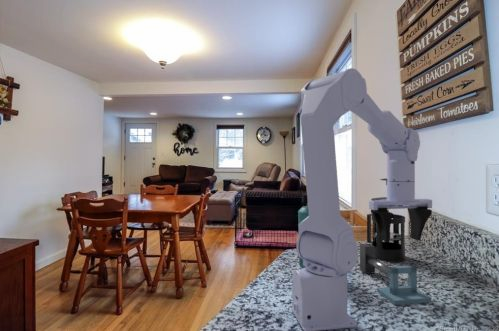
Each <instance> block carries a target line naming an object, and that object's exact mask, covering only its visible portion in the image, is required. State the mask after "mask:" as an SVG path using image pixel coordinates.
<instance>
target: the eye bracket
mask: <svg viewBox="0 0 499 331" xmlns="http://www.w3.org/2000/svg"><path fill="white" fill-rule="evenodd" d="M389 267H390V277H389V286H387V287H377V288H376V290H377V291H376V292H377V293H378V294H379V295H381V296H382V297H383V298H385V299H386V300H387V301H389V302H390V303H391V304H392V305H394V306H398V305H409V304H421V303H431V302H432V297H431V296H430V295H428V294H426V293H424V292H422V291H421V290H419V289H418V288H417V287H418V284H417V283H418V275H417V274H418V269H417V266H416V265H414V264H412V265H411V264H410V265H397V266H396V265H395V266H389ZM398 274H399V275H401V274H403V275H404V274H407V281H408V283H407V285H399V277H398Z"/></svg>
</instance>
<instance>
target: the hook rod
mask: <svg viewBox="0 0 499 331" xmlns="http://www.w3.org/2000/svg"><path fill="white" fill-rule="evenodd" d="M390 267H391V266H389V265H387V264H386V263H383V261H381V260H378V259H375V246H373V245H372V244H371V243H360V244H359V270H360V271H361V272H362V273H364V274H374V273H376V270H377V271H379V272H381V273H382V274H384V275H385V276H387V277H388V278H390ZM399 277H400V274H398V278H399Z"/></svg>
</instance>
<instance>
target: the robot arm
mask: <svg viewBox="0 0 499 331" xmlns="http://www.w3.org/2000/svg"><path fill="white" fill-rule="evenodd" d="M367 90H368V88H367V82H366V79H365V78H364V77H363V76H362V74H361V73H360V71H359V70H357V69H355V68H353V67H350V68H347V69H345V70H343V71H340V72H336V73H334V74H330V75H327V76H323V77H320V78H315V79H311V80H309V81H308V82H306V84H305V85H304V86H303V87H302V89H301V90H300V98H301V114H300V126H301V139H302V141H301V142H302V151H303V163H304V174H305V185H306V187H305V188H306V194H307V199H308V203H307V206H308V211H309V216H308V217H307V218H305V219H304V220H303V221H302V222H301V223H300V224H299V225H298V224H297V226H298V227H297V228H298V234H299V235H298V234H297V240H296V247H295V248H296V253H297V255H299V257H300V258H301V259H303V265H304V266H305V268H301V269H296V270H294V271H293V273H292V277H291V278H292V280H291V281H292V282H291V283H292V284H291V288H292V289H291V292H292V293H291V294H292V295H291V296H292V297H291V298H292V299H291V300H292V302H291V304H292V306H290V307H291V309H290V310H291V312H292V313H293V315H294V316H295V318H296V320H297V322H298V324H299V326H300V327H301V328H302V331H327V330H336V329H337V330H340V329H350V328H357V327H358V322H356V321H355V320H354V318H353V317H352V316H351V315H350V314H349V312H348V273H351V272H352V270H353V269H354V267H355V266H356V264H357V262H358V259H359V247H358V244H357V241H356V240H355V235H354V228H353V226H352V225H351V224H350V223H349V222H348V221H347V220H346V219H345V218H344V217H343V216H342V214H341V209H340V208H341V207H340V206H341V205H340V196H339V195H340V194H339V181H338V169H337V168H338V167H337V156H336V145H335V144H336V142H335V131H334V130H335V129H334V128H335V125H336V123H337V122H338V121H339V120H340V119H341V117H342V116H344V115H345V114H347V113H349V112H352V113H353V114H355V115H356V116H357V117H358V118H360V119H361V120H362V121H364V122H365V123H367V129H368V132H369V133H370V134H371V135H372V136H374V138H375V139H377V140H378V142H379V144H380V146H381V149H382V152H383V153H384V154H386V178H387V185H386V197H387V199H382V200H368V210H369V209H370V214H372V215H373V216H374V218H375V220H376V222H377V225H378V228H379V231H380V235H381V239H382V240H383V242H391V241H390V232H391V220H392V219H393V218H392V216H393V214H394V213H393V212H390V210H397V209H399V210H400V209H401V210H402V209H404V210H405V209H407V212H408V215H409V223H410V235H411V239H412V240H416V241H421V238H422V235H423V231H424V228H425V226H426V223H427V222H428V220H429V218H430V217H431V216H432V212H433V211H432V209H433V200H432V199H429V198H416V188H415V187H416V183H415V182H416V180H415V179H416V172H415V171H416V170H415V168H416V167H415V166H416V165H415V164H416V163H415V162H416V161H417V160H418V153H419V150H420V145H421V138H420V135H419V132H418V131H417V130H416V129H413V128H411V127H407V126H405V125H404V123H403V122H401V121H400V120H399V118H397V117H396V116H395V115H394V114H393V112H392V111H390V110H381V109H380V107H379V106H378V105H377V103H376V102H375V100H374V99H372V97H371V96H370V95H369V93H368V92H367ZM395 205H403V206H395ZM387 209H389V211H388V210H387Z"/></svg>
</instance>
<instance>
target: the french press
mask: <svg viewBox="0 0 499 331" xmlns="http://www.w3.org/2000/svg"><path fill="white" fill-rule="evenodd" d="M379 179H380V180H379V181H385V185H386V186H387V177H386V178H379ZM382 199H387V196H383V197H373V198H371V200H382ZM395 206H404V205H395ZM387 210H388V211H389V212H390V209H387ZM405 223H406V216H404V215H402V214H401V215H400V214H395V213H393V216H392V220H391V224H392V232H391V231H390V241H389V242H385V241H383V240H382V239H381V235H380V231H379V228H378V225H377V222H376V220H375V218H374V216H373V215H372V213H368V214H366V242H367V244H371V245H373V246H375V259H377V260H379V261H380V262H388V263H402V262H405V261H406V260H407V256H406V245H405V239H406V238H405V233H406V232H405V225H406V224H405Z"/></svg>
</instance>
